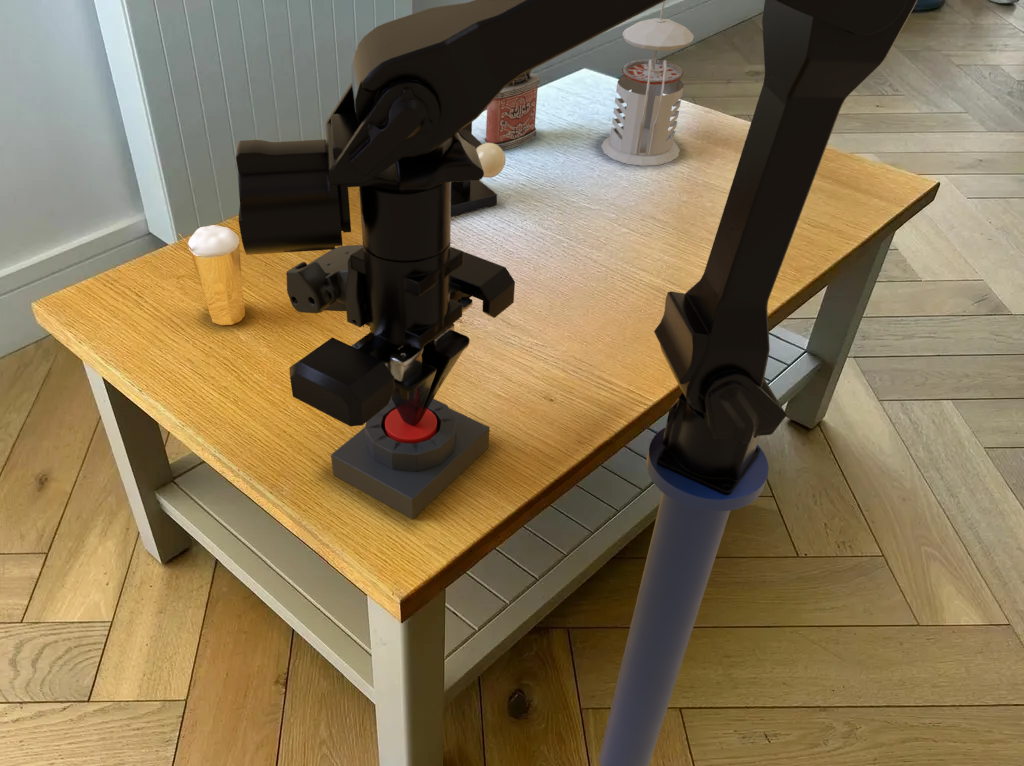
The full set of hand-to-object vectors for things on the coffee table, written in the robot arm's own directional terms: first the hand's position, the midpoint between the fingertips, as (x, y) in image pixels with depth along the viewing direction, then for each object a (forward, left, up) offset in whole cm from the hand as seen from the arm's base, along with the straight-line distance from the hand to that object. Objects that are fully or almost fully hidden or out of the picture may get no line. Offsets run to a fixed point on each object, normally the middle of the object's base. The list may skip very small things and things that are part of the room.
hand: (411, 421), depth 69 cm
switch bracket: (+24, -37, -4) cm, 44 cm away
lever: (+20, -35, +4) cm, 40 cm away
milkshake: (+27, -5, -4) cm, 28 cm away
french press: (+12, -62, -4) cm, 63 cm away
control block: (0, 0, -4) cm, 4 cm away
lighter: (+27, -55, -4) cm, 61 cm away
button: (0, 0, -2) cm, 2 cm away
